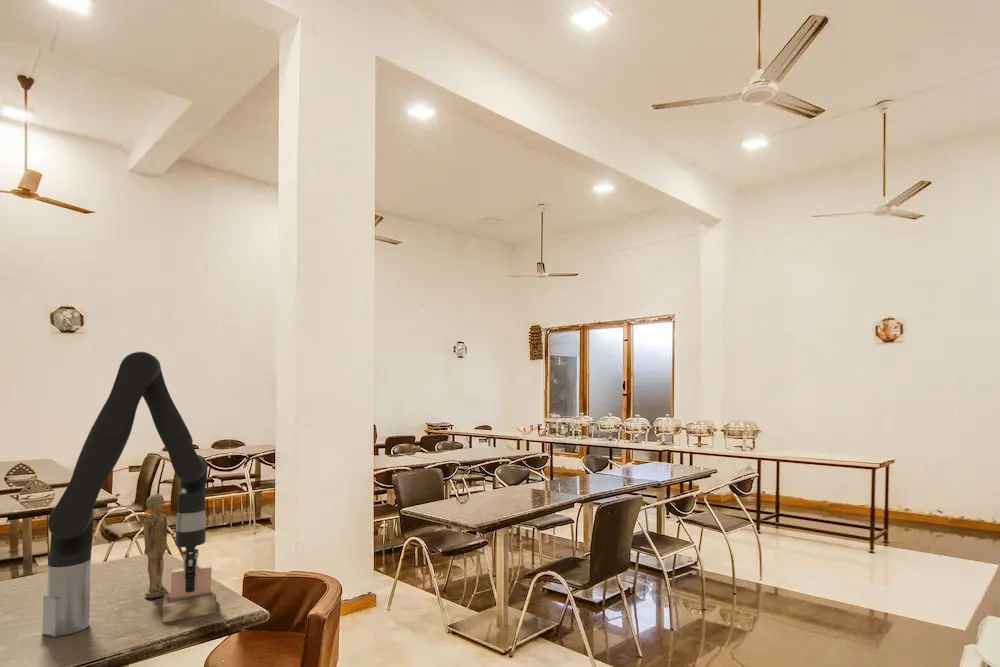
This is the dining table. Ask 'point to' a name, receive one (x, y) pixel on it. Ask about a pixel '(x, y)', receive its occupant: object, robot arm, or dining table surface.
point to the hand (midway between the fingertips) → (189, 589)
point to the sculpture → (155, 544)
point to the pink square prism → (200, 585)
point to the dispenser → (189, 606)
